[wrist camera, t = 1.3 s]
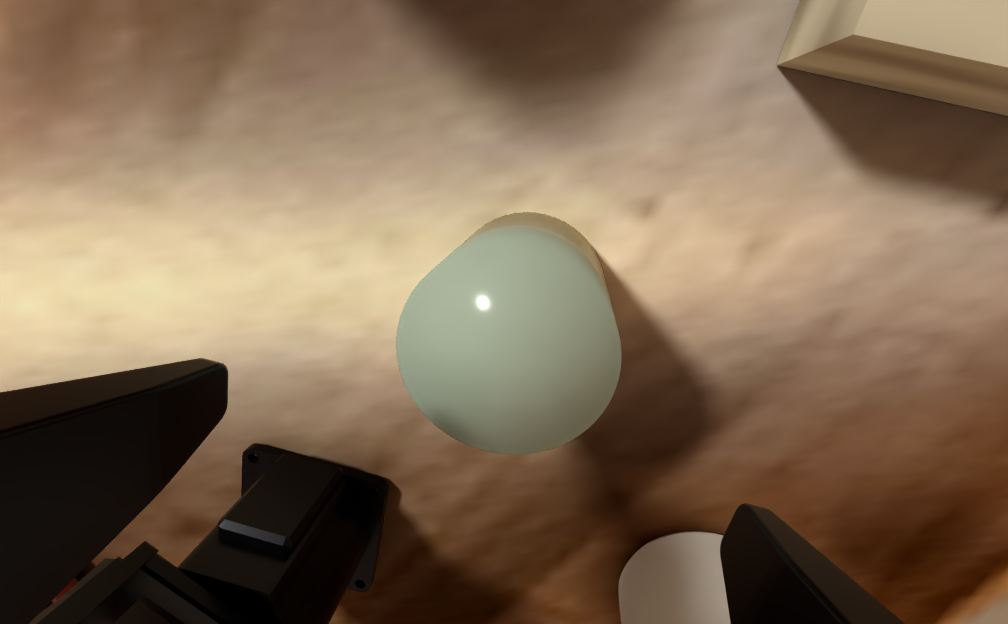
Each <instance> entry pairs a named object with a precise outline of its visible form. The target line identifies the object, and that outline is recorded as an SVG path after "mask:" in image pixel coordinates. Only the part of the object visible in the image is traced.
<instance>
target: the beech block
mask: <svg viewBox="0 0 1008 624" xmlns="http://www.w3.org/2000/svg"><path fill="white" fill-rule="evenodd" d="M777 65H778V66H782V67H787V68H792V69H796V70H801V71H805V72H810V73H814V74H819V75H824V76H828V77H833V78H837V79H842V80H846V81H851V82H855V83H860V84H865V85H869V86H874V87H878V88H883V89H887V90H892V91H896V92H901V93H906V94H910V95H915V96H919V97H924V98H928V99H933V100H937V101H942V102H947V103H951V104H956V105H960V106H965V107H969V108H974V109H979V110H983V111H988V112H992V113H997V114H1001V115H1006V116H1008V0H801V2H800V5H799V7H798V10H797V13H796V15H795V18H794V20H793V23H792V26H791V28H790V31H789V34H788V36H787V39H786V42H785V44H784V47H783V50H782V52H781V55H780V58H779V60H778V63H777Z"/></svg>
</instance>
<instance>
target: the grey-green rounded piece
mask: <svg viewBox="0 0 1008 624" xmlns="http://www.w3.org/2000/svg"><path fill="white" fill-rule="evenodd" d="M396 348H397V359H398V364H399V370H400V373H401V376H402V379H403V381H404V384H405V386H406V388H407V390H408V392H409V394H410V396H411V397H412V399H413V400H414V402H415V403H416V405H417V406H418V408H419V409H420V410H421V411H422V412H423V414H424V415H425V416H426V417H427V418H428V419H429V420H430V421H431V422H432V423H433V424H434V425H436V426H437V427H438V428H440V429H441V430H442V431H443V432H445V433H446V434H448V435H450V436H451V437H453V438H455V439H456V440H458V441H460V442H462V443H465V444H467V445H469V446H471V447H475V448H478V449H481V450H484V451H489V452H493V453H500V454H510V455H513V454H530V453H538V452H542V451H546V450H550V449H553V448H555V447H558V446H561V445H563V444H565V443H567V442H569V441H571V440H573V439H575V438H576V437H577V436H579V435H580V434H582V433H583V432H585V431H586V430H587V429H588V428H589V427H590V426H591V425H592V424H593V423H595V422H596V420H597V419H598V418H599V417H600V416H601V414H602V413H603V412H604V411H605V409H606V407H607V406H608V404H609V402H610V401H611V399H612V397H613V394H614V392H615V390H616V387H617V384H618V380H619V376H620V370H621V361H622V356H621V342H620V337H619V331H618V328H617V324H616V320H615V316H614V312H613V308H612V305H611V301H610V297H609V293H608V289H607V285H606V281H605V278H604V274H603V270H602V267H601V264H600V261H599V258H598V256H597V254H596V252H595V251H594V249H593V248H592V246H591V245H590V243H589V242H588V241H587V240H586V238H585V237H584V236H583V235H582V234H581V233H580V232H578V231H577V230H576V229H575V228H574V227H572V226H570V225H569V224H567V223H566V222H564V221H562V220H560V219H557V218H555V217H552V216H549V215H545V214H540V213H529V212H523V213H514V214H509V215H505V216H502V217H499V218H497V219H494V220H493V221H491V222H489V223H487V224H485V225H484V226H483V227H481V228H480V229H479V230H477V231H476V232H475V233H474V234H473V235H472V236H470V237H469V238H468V239H467V240H466V241H465V242H464V243H462V244H461V245H460V246H459V247H458V248H457V249H456V250H454V251H453V252H452V253H451V254H450V255H449V256H448V257H446V258H445V259H444V260H443V261H442V262H441V263H440V264H438V265H437V266H436V267H435V268H434V269H433V270H432V271H430V272H429V273H428V274H427V275H426V276H425V277H424V278H423V279H422V280H421V281H420V282H419V284H418V285H417V286H416V288H415V289H414V290H413V292H412V293H411V295H410V296H409V298H408V300H407V302H406V304H405V306H404V308H403V311H402V314H401V316H400V320H399V325H398V329H397V340H396Z"/></svg>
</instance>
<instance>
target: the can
mask: <svg viewBox="0 0 1008 624" xmlns="http://www.w3.org/2000/svg"><path fill="white" fill-rule="evenodd" d="M723 536H724V535H721V534H717V533H713V532H707V531H680V532H675V533H670V534H667V535H663V536H660V537H658V538H655V539H653V540H651V541H649V542H648V543H646V544H645V545H644V546H642V547H641V548H640V549H639V550H638V551H637V552H636V553H635V554H634V555H633V556H632V557H631V558H630V560H629V561H628V562H627V564H626V566H625V567H624V569H623V571H622V573H621V576H620V579H619V586H618V593H619V606H620V617H621V624H731V622H730V616H729V609H728V603H727V597H726V590H725V584H724V577H723V571H722V564H721V558H720V545H721V541H722V538H723Z"/></svg>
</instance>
